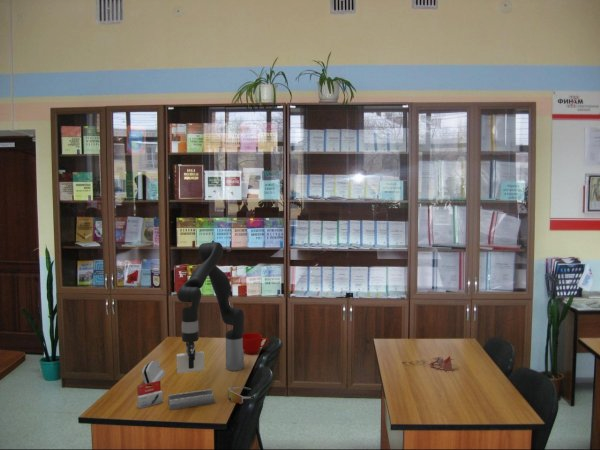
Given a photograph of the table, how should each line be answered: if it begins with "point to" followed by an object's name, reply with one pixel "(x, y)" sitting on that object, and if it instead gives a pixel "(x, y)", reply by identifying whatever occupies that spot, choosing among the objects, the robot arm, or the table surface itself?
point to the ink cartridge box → (149, 394)
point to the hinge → (152, 372)
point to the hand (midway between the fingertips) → (190, 366)
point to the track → (190, 399)
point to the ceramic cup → (252, 342)
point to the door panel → (184, 362)
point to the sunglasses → (236, 395)
